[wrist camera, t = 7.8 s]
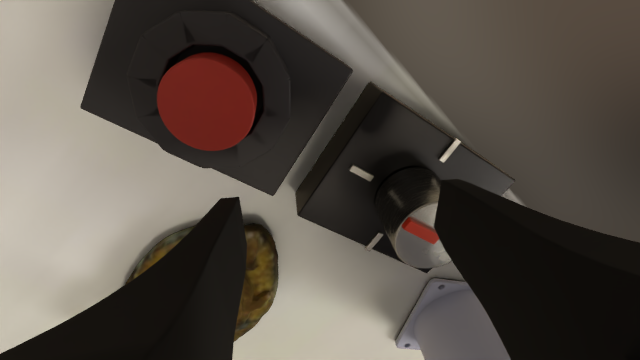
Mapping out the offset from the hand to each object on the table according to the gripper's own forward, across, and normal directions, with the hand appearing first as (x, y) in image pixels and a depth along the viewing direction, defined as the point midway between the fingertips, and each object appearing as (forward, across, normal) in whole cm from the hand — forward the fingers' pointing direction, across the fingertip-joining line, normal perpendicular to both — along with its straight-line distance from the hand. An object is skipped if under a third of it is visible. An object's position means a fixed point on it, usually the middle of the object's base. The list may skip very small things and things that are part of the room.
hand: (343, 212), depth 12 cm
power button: (+5, +5, -3) cm, 8 cm away
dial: (+6, -5, +3) cm, 8 cm away
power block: (+8, +5, -3) cm, 10 cm away
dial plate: (+8, -5, +3) cm, 10 cm away
